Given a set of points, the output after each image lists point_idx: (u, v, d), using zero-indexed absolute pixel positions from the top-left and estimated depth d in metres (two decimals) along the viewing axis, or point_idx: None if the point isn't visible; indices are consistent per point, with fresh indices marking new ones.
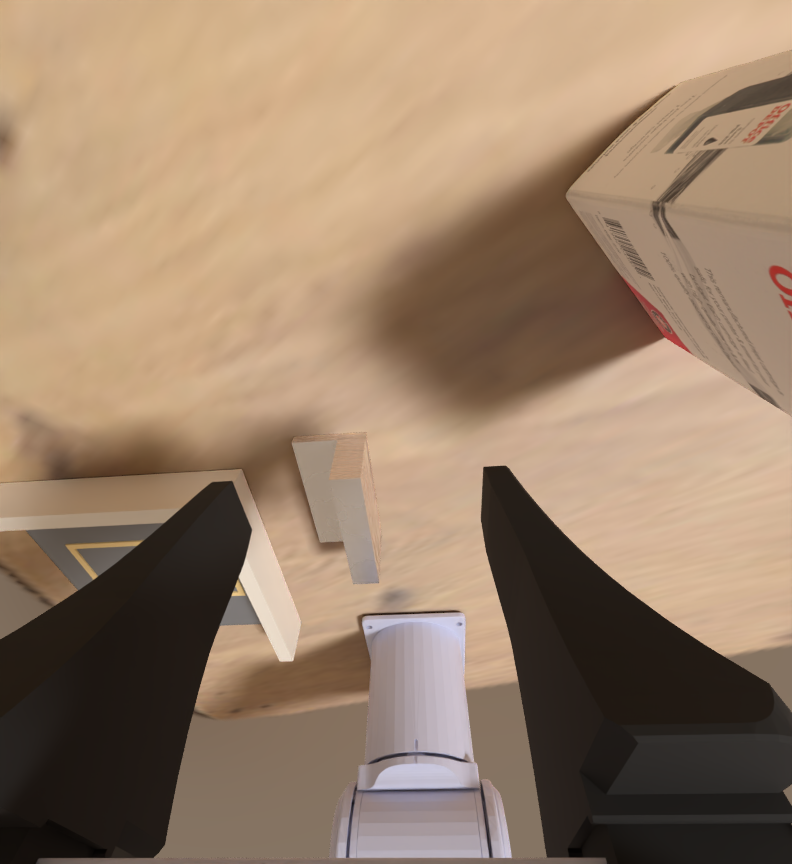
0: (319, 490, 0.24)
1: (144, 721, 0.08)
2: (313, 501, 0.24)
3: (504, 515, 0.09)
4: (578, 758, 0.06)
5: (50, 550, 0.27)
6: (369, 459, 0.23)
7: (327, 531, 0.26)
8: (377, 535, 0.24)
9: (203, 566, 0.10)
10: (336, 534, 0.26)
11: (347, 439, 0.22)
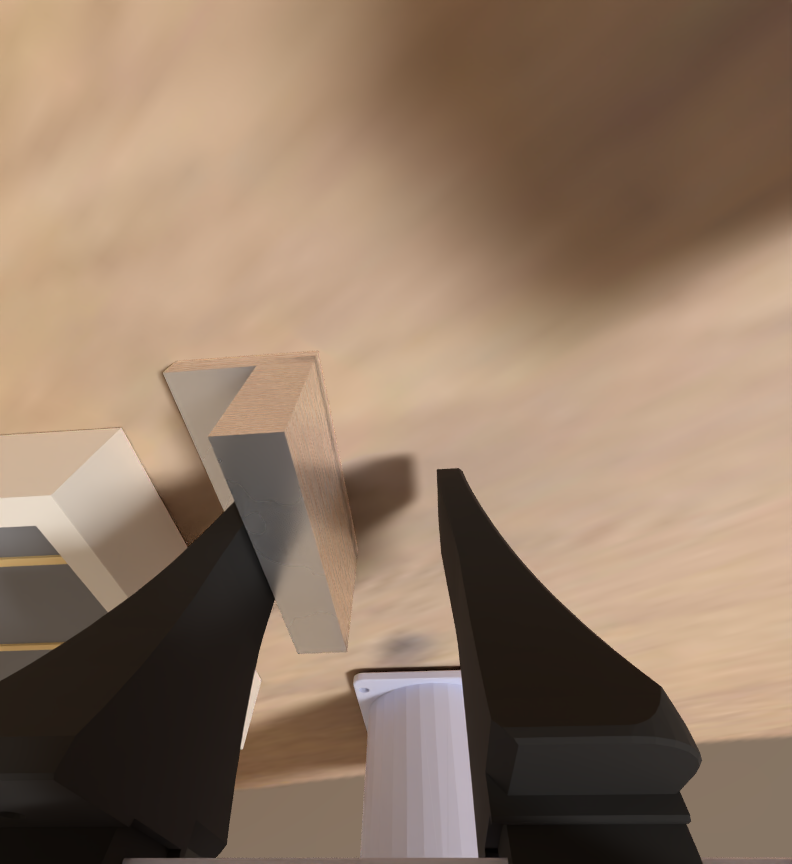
0: None
1: (208, 720, 0.08)
2: (226, 495, 0.13)
3: (447, 518, 0.09)
4: (484, 759, 0.06)
5: None
6: (326, 411, 0.11)
7: None
8: (345, 559, 0.13)
9: (254, 563, 0.10)
10: None
11: (276, 364, 0.10)
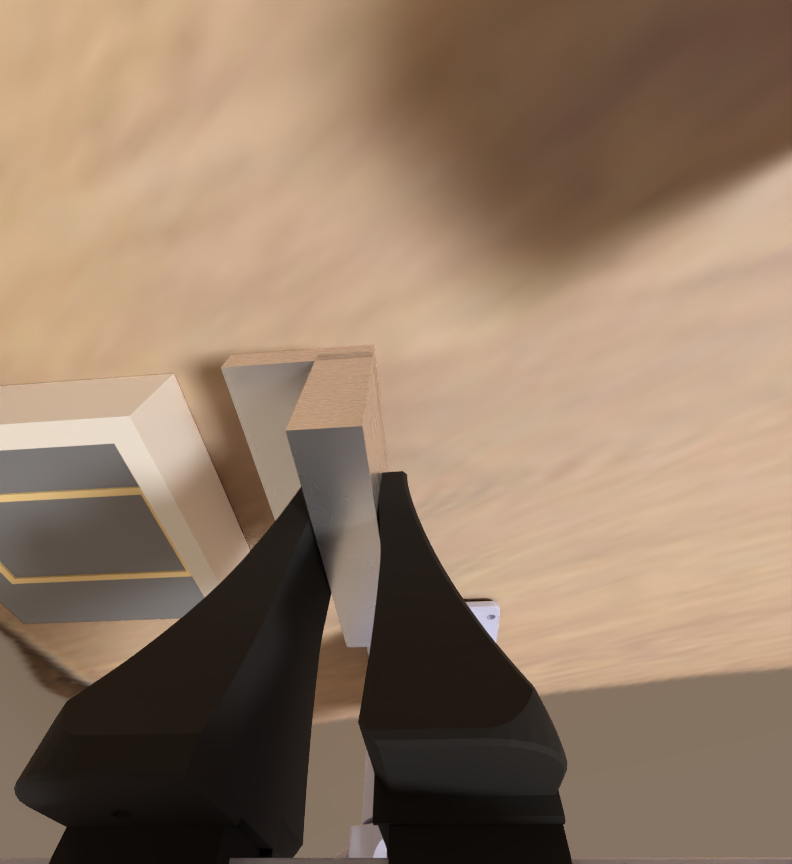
0: (284, 468, 0.13)
1: (288, 718, 0.08)
2: (273, 490, 0.13)
3: None
4: None
5: None
6: (379, 406, 0.11)
7: None
8: None
9: (316, 561, 0.10)
10: None
11: (334, 359, 0.10)
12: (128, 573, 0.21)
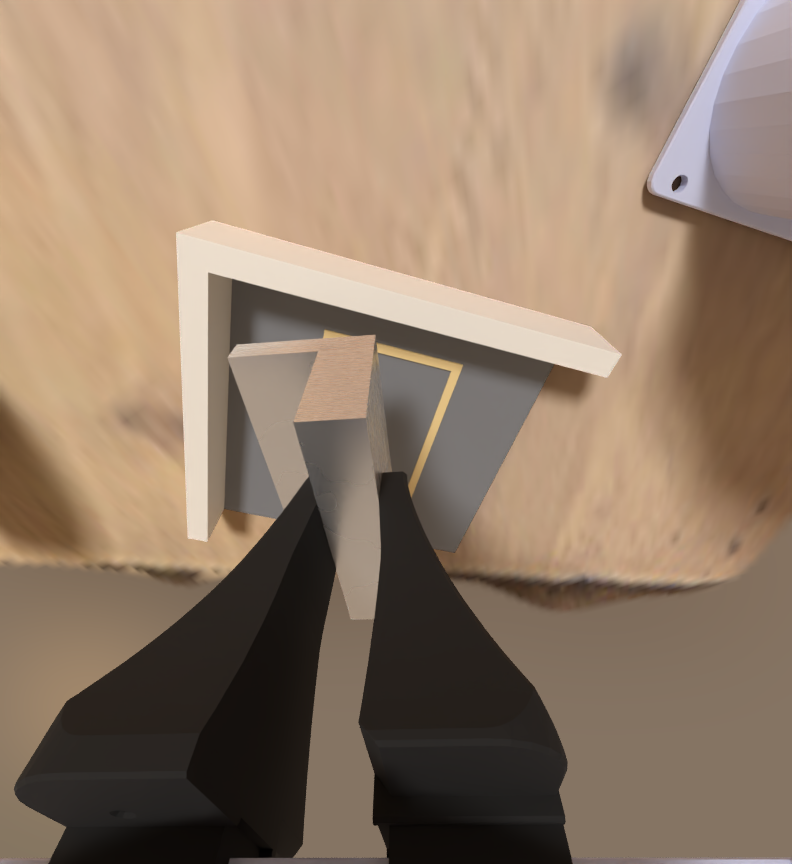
0: (289, 453, 0.13)
1: (288, 718, 0.08)
2: (279, 473, 0.14)
3: None
4: None
5: None
6: (380, 394, 0.12)
7: None
8: None
9: (315, 561, 0.10)
10: None
11: (337, 350, 0.11)
12: (431, 427, 0.20)
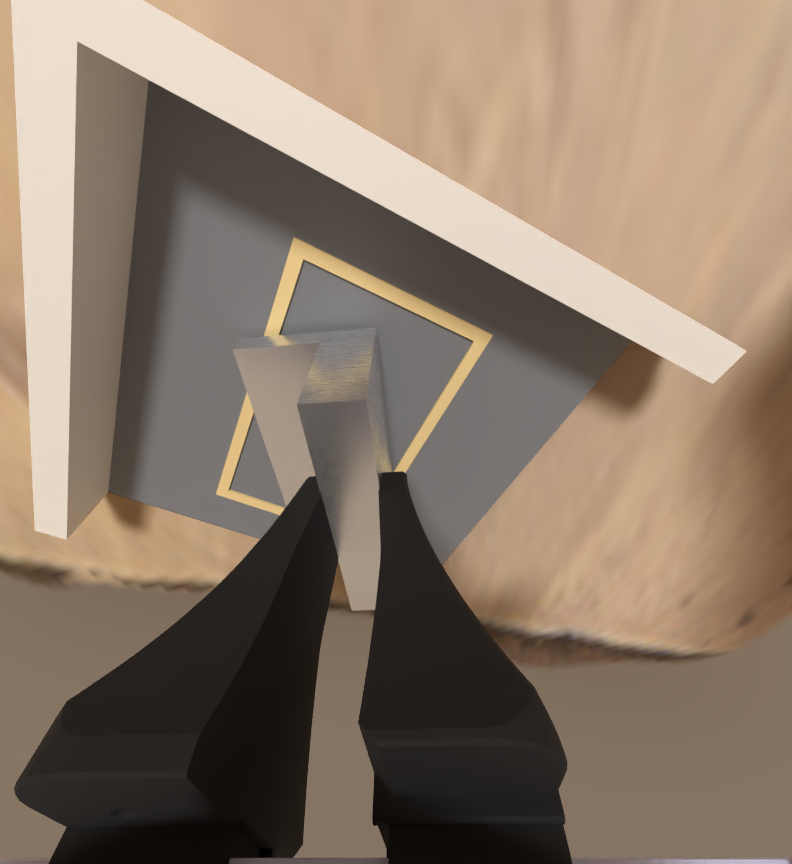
0: (292, 445, 0.13)
1: (288, 718, 0.08)
2: (281, 466, 0.14)
3: None
4: None
5: (223, 519, 0.17)
6: (380, 386, 0.12)
7: None
8: None
9: (315, 561, 0.10)
10: None
11: (339, 342, 0.11)
12: (426, 420, 0.14)
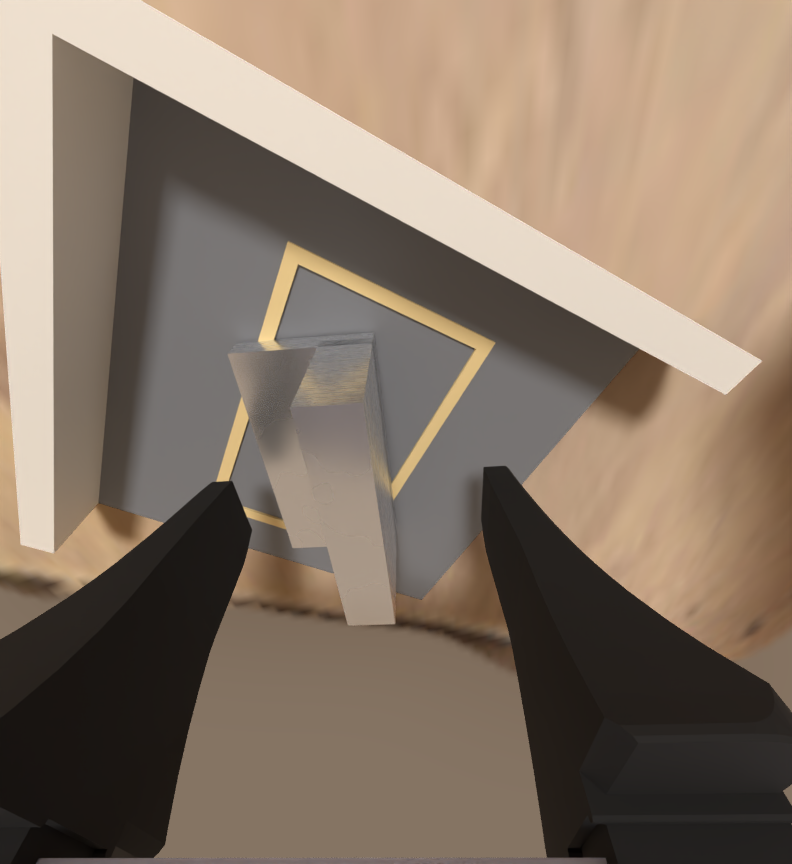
0: (287, 453, 0.13)
1: (144, 721, 0.08)
2: (277, 475, 0.14)
3: (504, 515, 0.09)
4: (578, 758, 0.06)
5: None
6: (379, 392, 0.12)
7: (304, 529, 0.15)
8: (391, 536, 0.13)
9: (203, 566, 0.10)
10: (320, 534, 0.15)
11: (336, 346, 0.11)
12: (426, 430, 0.14)
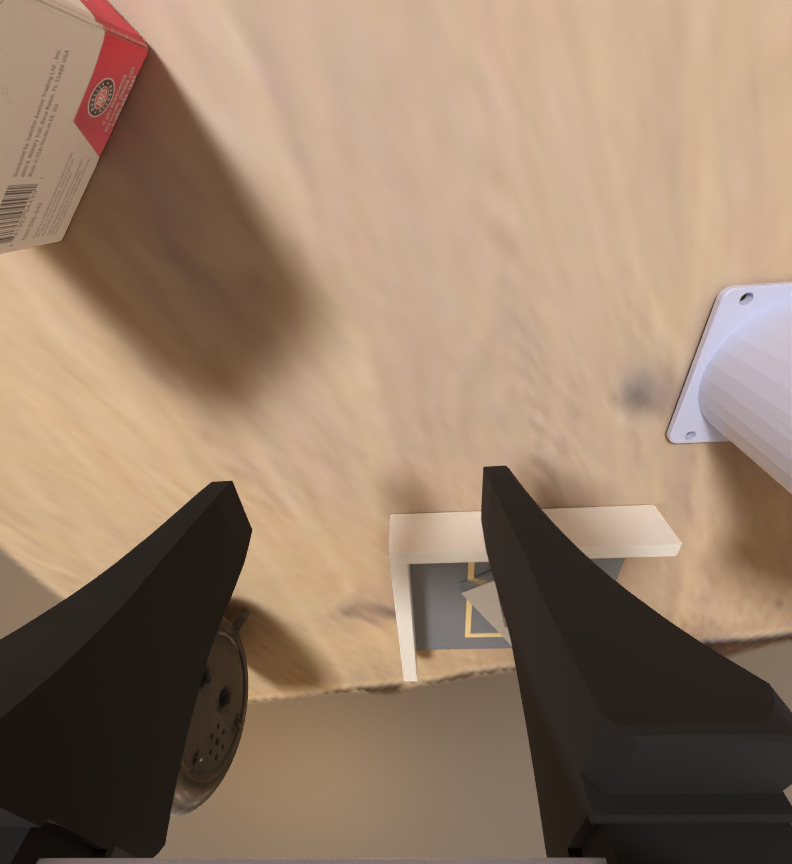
0: (496, 614, 0.29)
1: (144, 721, 0.08)
2: (494, 622, 0.29)
3: (504, 515, 0.09)
4: (578, 758, 0.06)
5: (471, 645, 0.33)
6: None
7: None
8: None
9: (203, 565, 0.10)
10: None
11: None
12: None
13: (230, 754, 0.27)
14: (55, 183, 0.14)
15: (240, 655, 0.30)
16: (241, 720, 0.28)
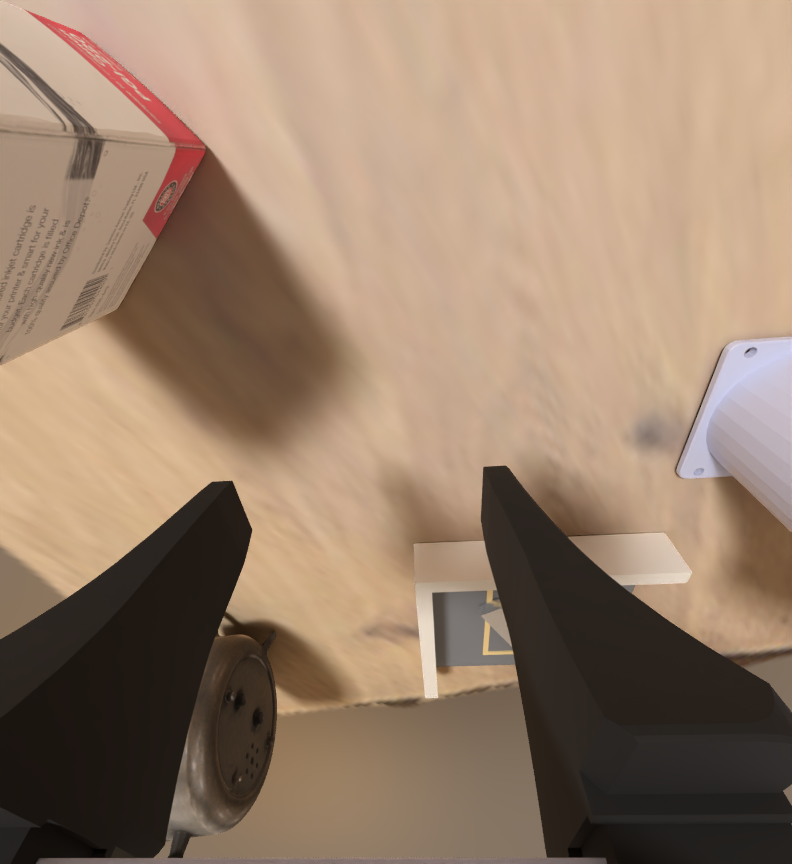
0: None
1: (144, 721, 0.08)
2: None
3: (504, 515, 0.09)
4: (578, 758, 0.06)
5: (488, 662, 0.34)
6: None
7: None
8: None
9: (204, 566, 0.10)
10: None
11: None
12: None
13: (264, 772, 0.28)
14: (121, 269, 0.15)
15: (269, 675, 0.32)
16: (272, 739, 0.29)
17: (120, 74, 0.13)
